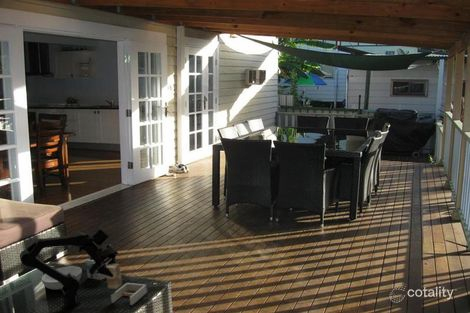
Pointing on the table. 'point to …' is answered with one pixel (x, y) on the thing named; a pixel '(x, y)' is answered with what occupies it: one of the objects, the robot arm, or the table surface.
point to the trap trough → (130, 292)
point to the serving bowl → (73, 270)
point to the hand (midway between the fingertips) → (115, 274)
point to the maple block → (114, 276)
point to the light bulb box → (95, 275)
